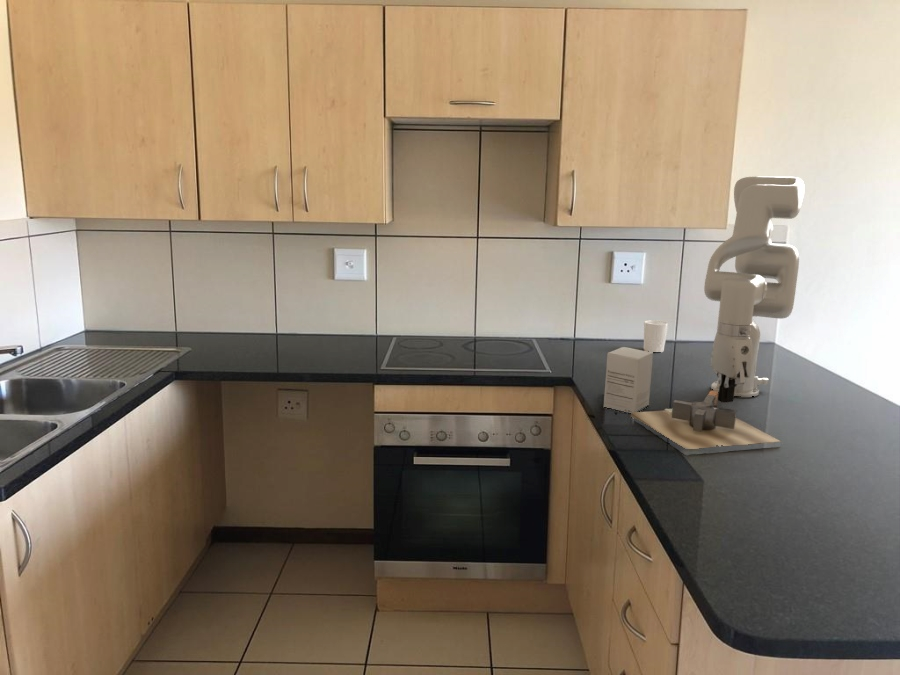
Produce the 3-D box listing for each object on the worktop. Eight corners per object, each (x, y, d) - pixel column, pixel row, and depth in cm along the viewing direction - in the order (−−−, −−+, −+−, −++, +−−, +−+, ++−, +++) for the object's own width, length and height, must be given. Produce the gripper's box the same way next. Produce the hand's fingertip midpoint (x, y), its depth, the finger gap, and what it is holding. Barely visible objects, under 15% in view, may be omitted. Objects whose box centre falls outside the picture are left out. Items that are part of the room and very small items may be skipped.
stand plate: (714, 412, 178) (715, 406, 178) (779, 447, 155) (781, 440, 155) (630, 418, 172) (631, 411, 172) (685, 455, 149) (686, 448, 149)
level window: (686, 409, 175) (686, 407, 175) (692, 413, 172) (692, 410, 172) (664, 411, 173) (664, 408, 173) (670, 414, 171) (670, 412, 171)
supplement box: (617, 399, 187) (622, 345, 183) (649, 407, 181) (654, 351, 178) (602, 407, 180) (606, 352, 176) (634, 415, 174) (639, 358, 171)
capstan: (684, 404, 179) (685, 386, 177) (742, 414, 172) (744, 395, 171) (665, 428, 161) (667, 408, 160) (729, 440, 154) (731, 420, 153)
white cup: (637, 348, 243) (639, 321, 241) (654, 347, 246) (657, 319, 244) (652, 354, 236) (654, 325, 234) (670, 352, 239) (673, 324, 237)
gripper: (768, 336, 161) (758, 410, 165) (727, 321, 175) (720, 390, 179) (740, 338, 159) (731, 413, 163) (701, 323, 173) (694, 392, 177)
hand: (725, 401), depth 171 cm, fingers closed
